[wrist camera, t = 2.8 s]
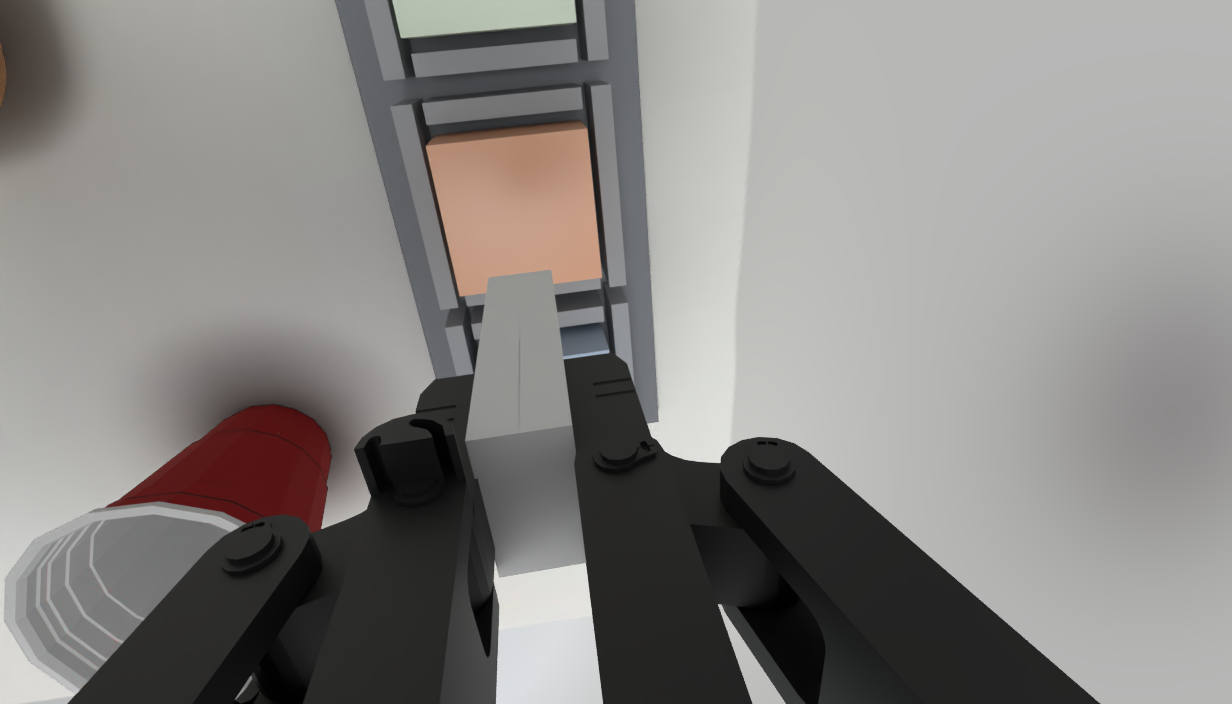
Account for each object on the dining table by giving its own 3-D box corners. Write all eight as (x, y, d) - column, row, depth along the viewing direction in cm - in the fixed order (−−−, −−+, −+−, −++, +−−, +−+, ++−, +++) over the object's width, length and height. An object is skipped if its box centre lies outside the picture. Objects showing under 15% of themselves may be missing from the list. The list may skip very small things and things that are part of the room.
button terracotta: (435, 135, 24) (425, 146, 21) (579, 119, 25) (587, 128, 22) (465, 271, 27) (459, 296, 24) (593, 255, 27) (602, 277, 25)
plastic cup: (378, 367, 32) (310, 526, 21) (379, 518, 36) (323, 710, 26) (150, 349, 29) (-54, 518, 19) (182, 513, 34) (33, 721, 24)
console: (176, -626, 17) (86, -805, 13) (593, -620, 18) (611, -783, 14) (457, 443, 35) (451, 487, 31) (654, 412, 36) (670, 452, 32)
